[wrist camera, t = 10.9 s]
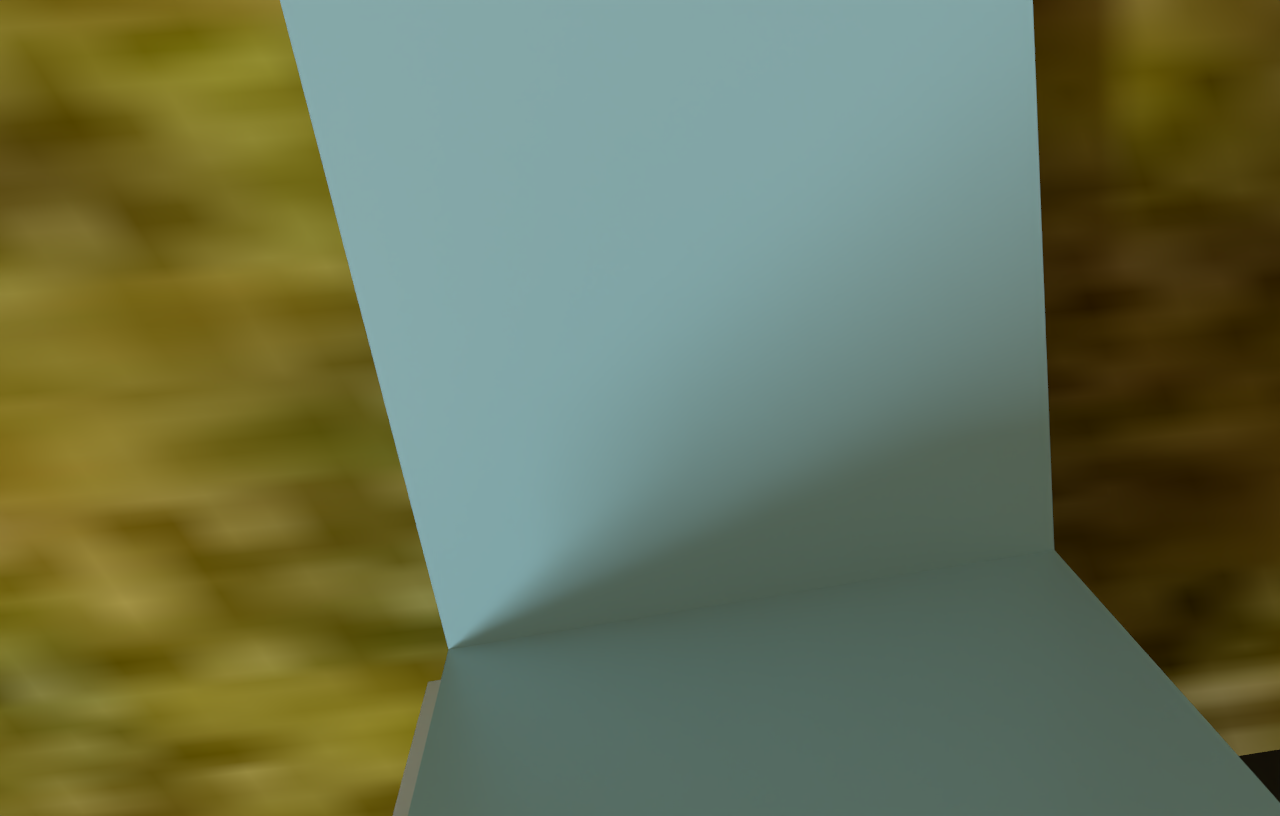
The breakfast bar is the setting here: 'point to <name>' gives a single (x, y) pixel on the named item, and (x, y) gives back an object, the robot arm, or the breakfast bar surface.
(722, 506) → the light blue l-bracket
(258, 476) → the breakfast bar surface
